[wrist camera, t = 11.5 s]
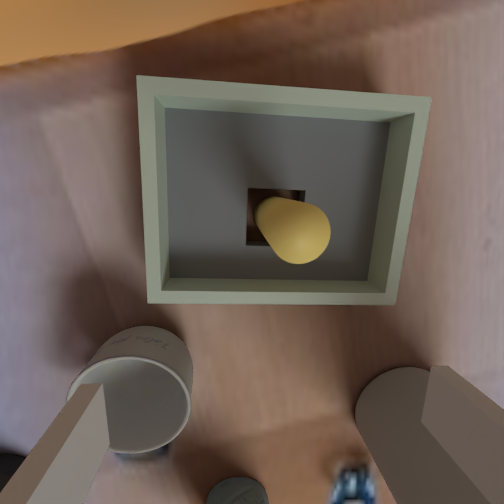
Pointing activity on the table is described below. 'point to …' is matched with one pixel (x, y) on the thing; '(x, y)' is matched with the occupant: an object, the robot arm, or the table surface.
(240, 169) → the box
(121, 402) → the teacup
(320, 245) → the peg
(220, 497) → the grey-green cup
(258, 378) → the table surface
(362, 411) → the cylinder vase
